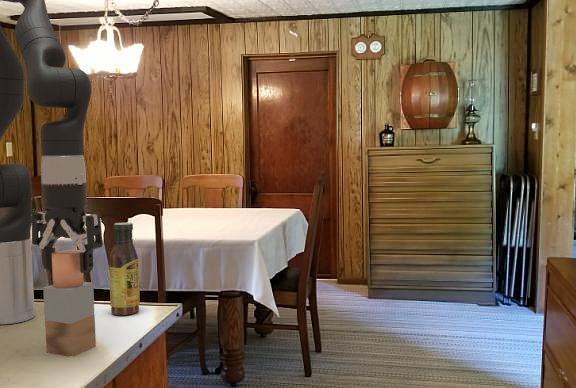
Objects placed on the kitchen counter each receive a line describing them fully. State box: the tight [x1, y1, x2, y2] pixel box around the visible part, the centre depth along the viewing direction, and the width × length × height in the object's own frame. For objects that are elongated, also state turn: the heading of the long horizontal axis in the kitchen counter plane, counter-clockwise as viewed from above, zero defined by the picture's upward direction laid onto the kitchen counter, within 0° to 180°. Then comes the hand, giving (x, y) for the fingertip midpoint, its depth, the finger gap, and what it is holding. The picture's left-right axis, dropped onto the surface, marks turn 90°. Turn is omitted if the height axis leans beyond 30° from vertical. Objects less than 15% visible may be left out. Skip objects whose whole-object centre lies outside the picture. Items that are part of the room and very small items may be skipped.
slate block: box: [42, 281, 95, 324], centre depth 109 cm, size 6×6×6 cm
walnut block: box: [44, 314, 97, 357], centre depth 110 cm, size 6×6×6 cm
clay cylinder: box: [51, 249, 85, 288], centre depth 109 cm, size 5×5×6 cm
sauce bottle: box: [109, 222, 141, 316], centre depth 132 cm, size 6×6×20 cm
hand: (67, 270), depth 109 cm, fingers open, 8 cm apart
